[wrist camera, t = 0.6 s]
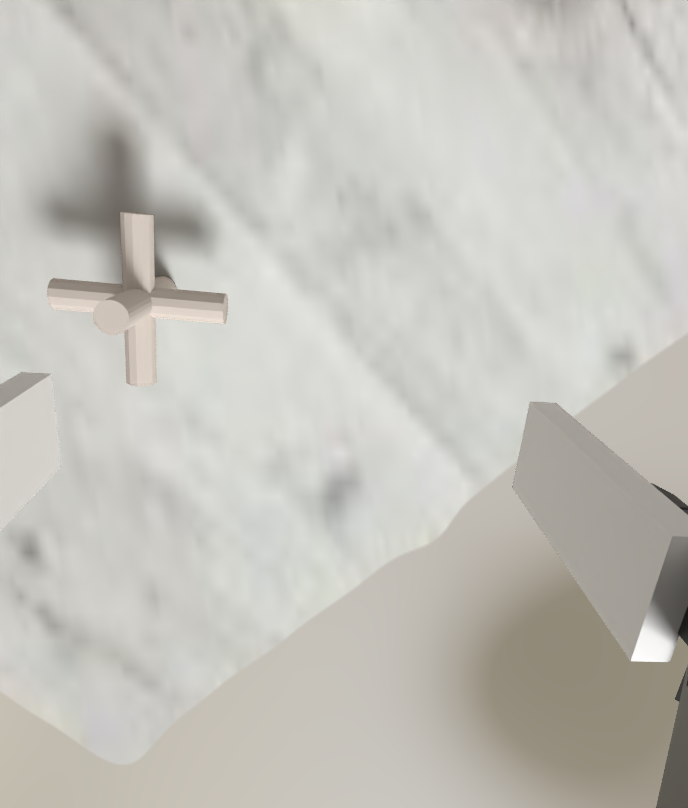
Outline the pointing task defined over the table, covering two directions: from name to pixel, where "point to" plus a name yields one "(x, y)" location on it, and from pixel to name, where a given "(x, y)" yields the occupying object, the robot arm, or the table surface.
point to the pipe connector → (137, 300)
